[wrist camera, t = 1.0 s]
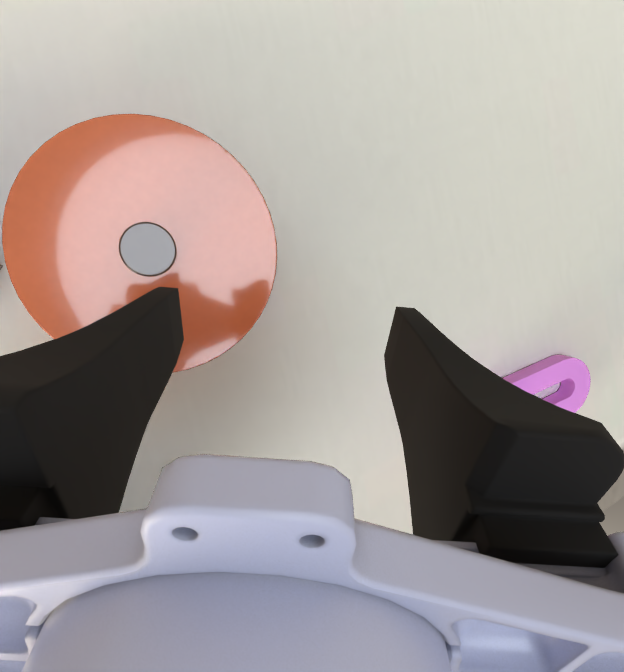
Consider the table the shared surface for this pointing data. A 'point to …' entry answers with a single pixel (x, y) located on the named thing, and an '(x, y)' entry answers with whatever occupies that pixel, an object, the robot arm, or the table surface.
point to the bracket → (556, 380)
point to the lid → (140, 231)
